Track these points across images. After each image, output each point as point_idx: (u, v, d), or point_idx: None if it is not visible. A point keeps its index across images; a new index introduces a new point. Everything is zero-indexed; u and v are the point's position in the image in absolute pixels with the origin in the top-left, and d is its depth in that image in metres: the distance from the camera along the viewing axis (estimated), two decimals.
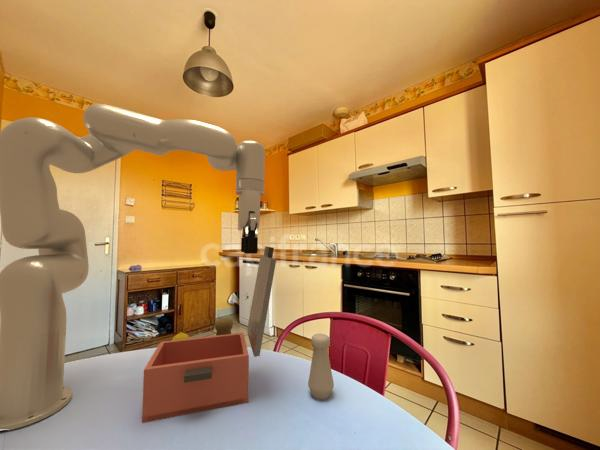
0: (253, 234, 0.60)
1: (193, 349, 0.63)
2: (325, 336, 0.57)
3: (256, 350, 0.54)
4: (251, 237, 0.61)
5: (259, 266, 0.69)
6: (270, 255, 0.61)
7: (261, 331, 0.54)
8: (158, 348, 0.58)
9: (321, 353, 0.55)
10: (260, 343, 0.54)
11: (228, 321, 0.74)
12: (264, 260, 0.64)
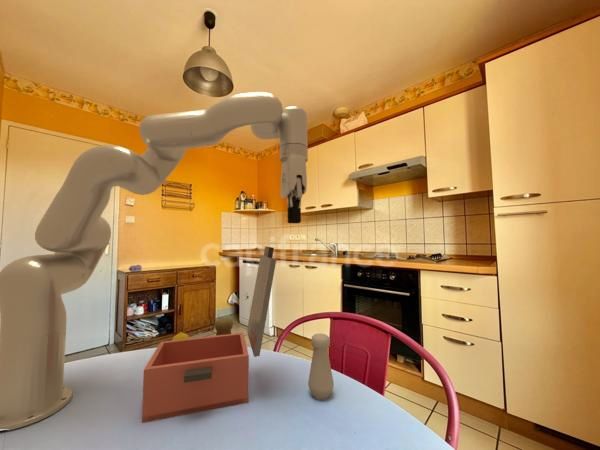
0: (297, 204, 0.65)
1: (193, 349, 0.63)
2: (325, 336, 0.57)
3: (256, 350, 0.54)
4: (295, 207, 0.65)
5: (259, 266, 0.69)
6: (270, 255, 0.61)
7: (261, 331, 0.54)
8: (158, 348, 0.58)
9: (321, 353, 0.55)
10: (260, 343, 0.54)
11: (228, 321, 0.74)
12: (264, 260, 0.64)
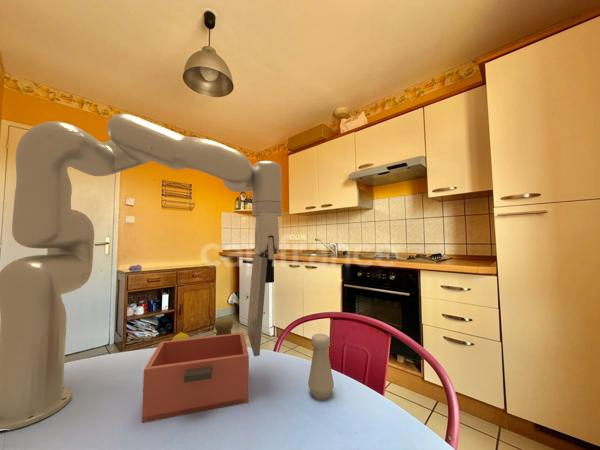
0: (270, 264, 0.62)
1: (193, 349, 0.63)
2: (325, 336, 0.57)
3: (256, 350, 0.54)
4: (268, 267, 0.62)
5: (253, 265, 0.69)
6: (262, 254, 0.60)
7: (259, 331, 0.54)
8: (158, 348, 0.58)
9: (321, 353, 0.55)
10: (259, 343, 0.54)
11: (228, 321, 0.74)
12: (256, 259, 0.63)
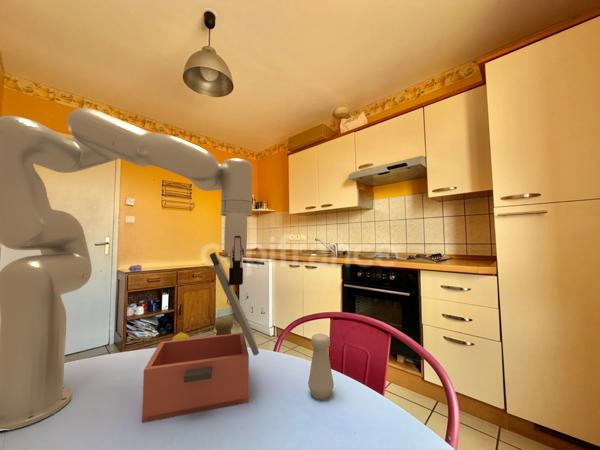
0: (238, 265, 0.59)
1: (193, 349, 0.63)
2: (325, 336, 0.57)
3: (253, 350, 0.54)
4: (236, 268, 0.60)
5: None
6: (216, 261, 0.57)
7: (247, 333, 0.53)
8: (158, 348, 0.58)
9: (321, 353, 0.55)
10: (253, 342, 0.54)
11: (228, 321, 0.74)
12: None
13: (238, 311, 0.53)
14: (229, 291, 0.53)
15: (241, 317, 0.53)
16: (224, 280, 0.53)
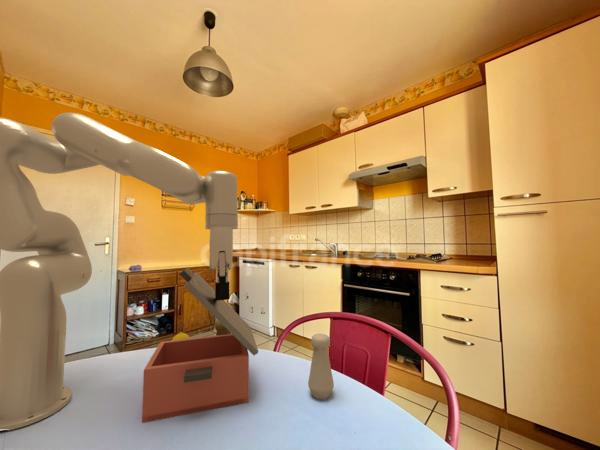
0: (224, 280, 0.58)
1: (193, 349, 0.63)
2: (325, 336, 0.57)
3: (251, 351, 0.53)
4: (222, 283, 0.58)
5: None
6: (188, 278, 0.55)
7: (240, 337, 0.53)
8: (158, 348, 0.58)
9: (321, 353, 0.55)
10: (249, 344, 0.53)
11: None
12: None
13: (224, 319, 0.52)
14: (209, 303, 0.51)
15: (229, 324, 0.52)
16: (200, 295, 0.51)
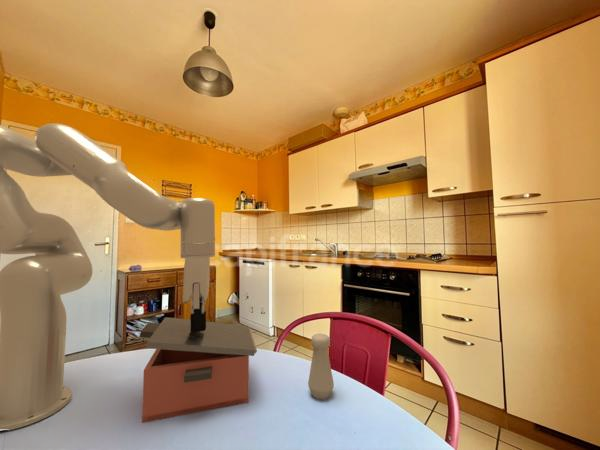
0: (199, 312, 0.56)
1: None
2: (325, 336, 0.57)
3: (249, 353, 0.53)
4: (197, 314, 0.57)
5: None
6: (150, 334, 0.52)
7: (230, 350, 0.52)
8: None
9: (321, 353, 0.55)
10: (242, 350, 0.53)
11: (228, 321, 0.74)
12: None
13: (205, 347, 0.51)
14: (180, 345, 0.49)
15: (213, 348, 0.51)
16: (166, 344, 0.49)
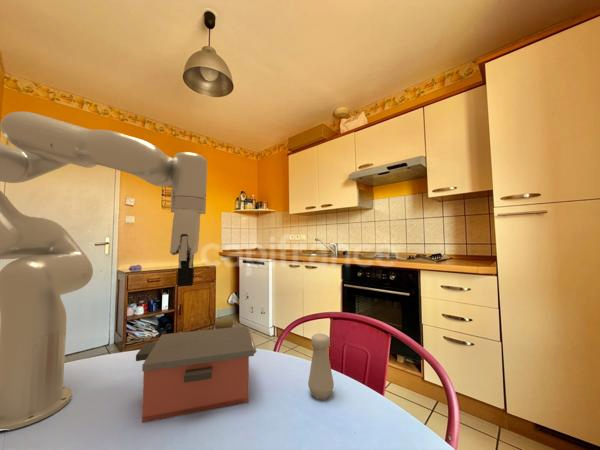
0: (186, 265, 0.56)
1: None
2: (325, 336, 0.57)
3: (248, 354, 0.53)
4: (184, 268, 0.56)
5: None
6: (147, 356, 0.52)
7: (229, 355, 0.52)
8: None
9: (321, 353, 0.55)
10: (241, 353, 0.53)
11: (228, 321, 0.74)
12: None
13: (203, 358, 0.51)
14: (177, 361, 0.49)
15: (211, 357, 0.51)
16: (163, 363, 0.48)
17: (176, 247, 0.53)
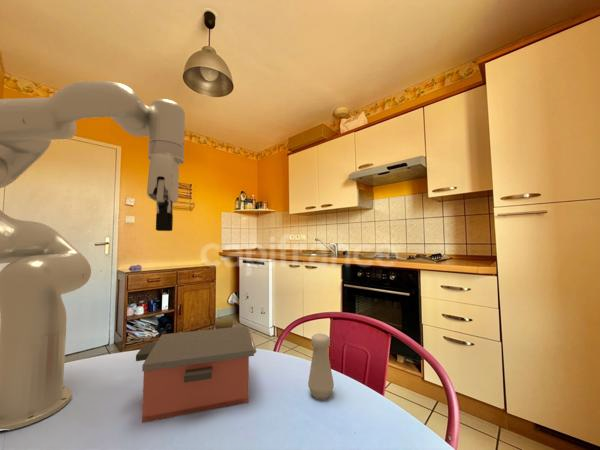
0: (164, 209, 0.57)
1: None
2: (325, 336, 0.57)
3: (248, 354, 0.53)
4: (163, 213, 0.57)
5: None
6: (147, 356, 0.52)
7: (229, 355, 0.52)
8: None
9: (321, 353, 0.55)
10: (241, 353, 0.53)
11: (228, 321, 0.74)
12: None
13: (203, 358, 0.51)
14: (177, 361, 0.49)
15: (211, 357, 0.51)
16: (163, 363, 0.48)
17: (153, 188, 0.54)
